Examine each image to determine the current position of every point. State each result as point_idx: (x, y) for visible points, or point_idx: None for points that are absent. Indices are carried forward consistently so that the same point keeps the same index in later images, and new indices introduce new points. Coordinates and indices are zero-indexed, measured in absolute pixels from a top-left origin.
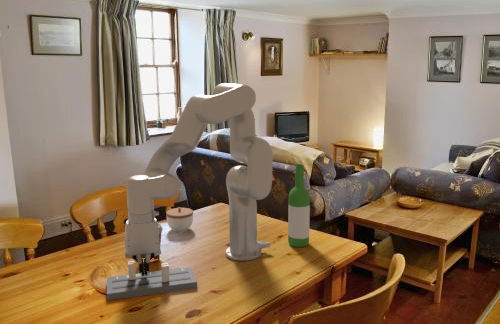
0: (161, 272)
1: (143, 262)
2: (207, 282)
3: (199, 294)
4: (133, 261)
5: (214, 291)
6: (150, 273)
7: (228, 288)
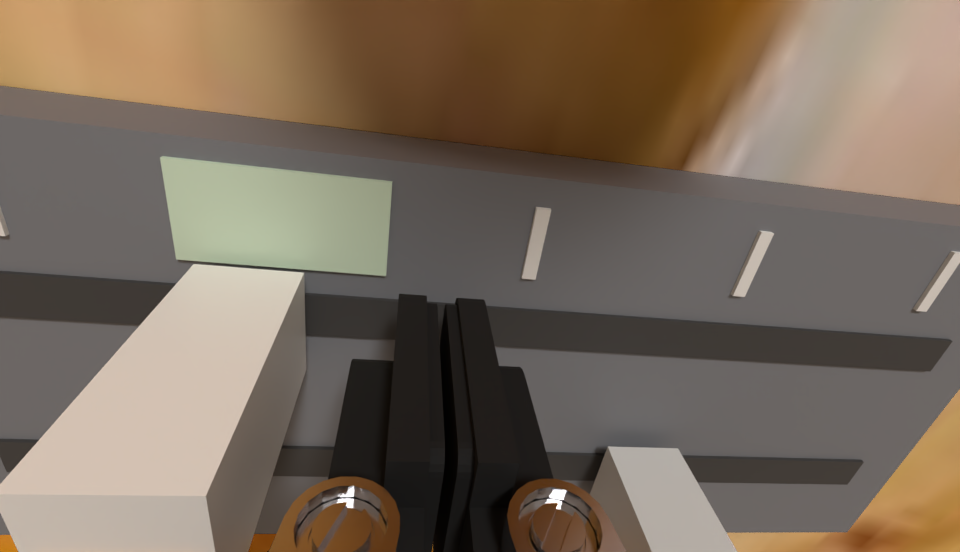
0: (684, 256)
1: (431, 545)
2: (928, 431)
3: (759, 548)
4: (177, 533)
5: (860, 539)
6: (536, 243)
7: (955, 530)
